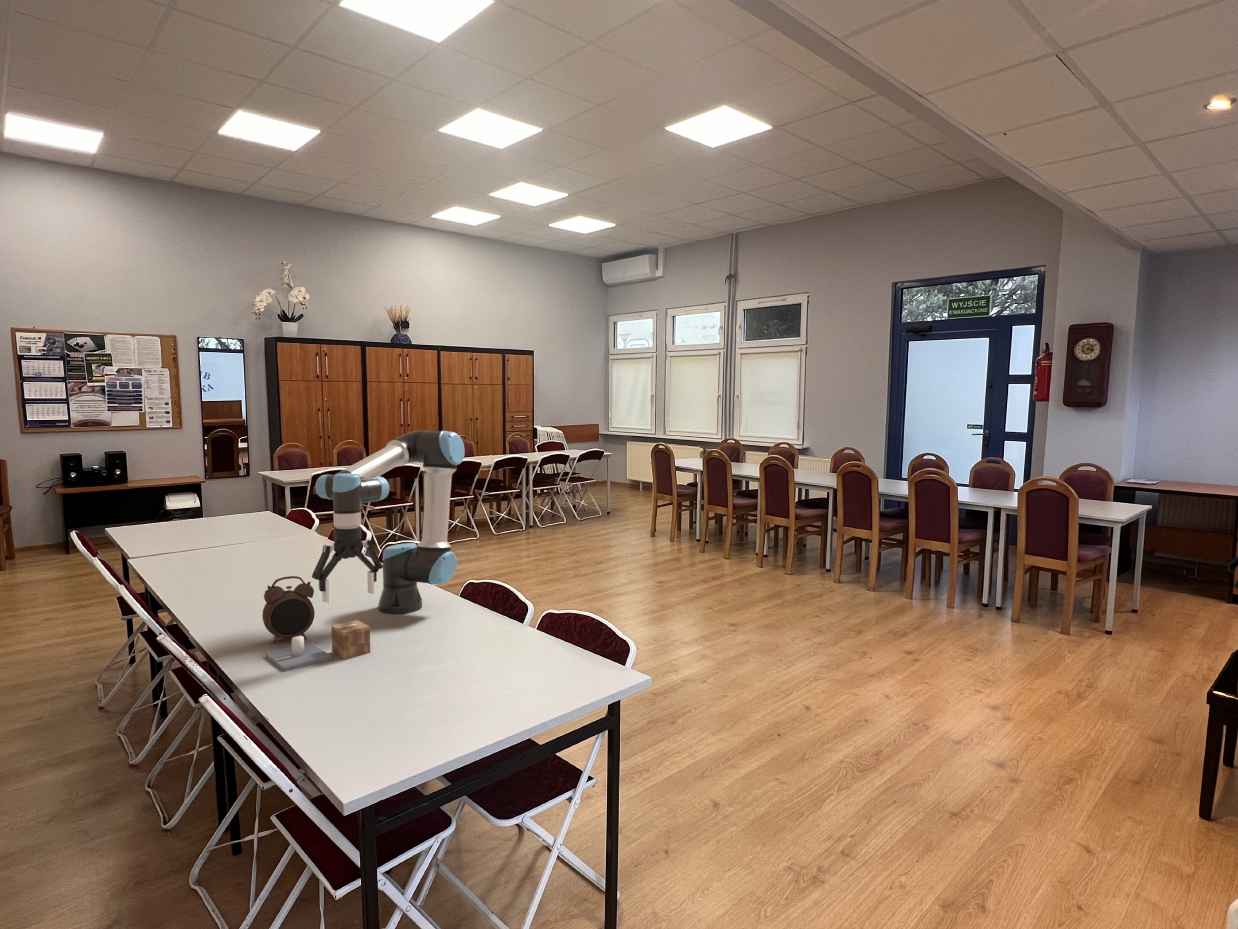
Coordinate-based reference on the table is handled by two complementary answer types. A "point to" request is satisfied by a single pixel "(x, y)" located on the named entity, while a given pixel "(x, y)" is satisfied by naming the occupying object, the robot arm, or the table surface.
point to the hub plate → (298, 661)
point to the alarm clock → (288, 610)
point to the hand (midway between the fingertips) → (348, 597)
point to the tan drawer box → (350, 639)
